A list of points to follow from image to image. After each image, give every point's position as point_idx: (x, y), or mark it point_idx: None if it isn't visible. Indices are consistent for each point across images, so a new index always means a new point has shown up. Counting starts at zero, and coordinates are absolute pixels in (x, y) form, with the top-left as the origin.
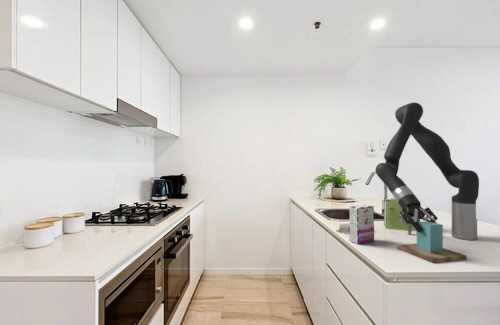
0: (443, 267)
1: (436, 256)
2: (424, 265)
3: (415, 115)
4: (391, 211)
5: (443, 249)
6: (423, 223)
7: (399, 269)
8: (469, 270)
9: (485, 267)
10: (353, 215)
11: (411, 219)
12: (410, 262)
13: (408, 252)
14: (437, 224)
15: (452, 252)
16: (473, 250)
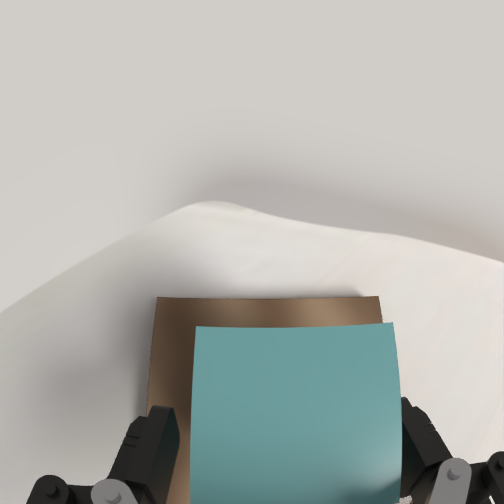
0: (362, 259)
1: (333, 320)
2: (418, 288)
3: None
4: None
5: (175, 403)
6: (387, 430)
7: (496, 273)
8: (286, 220)
9: (190, 227)
10: None
11: (495, 464)
12: (447, 322)
13: None
14: (251, 354)
15: (178, 350)
16: (17, 368)
